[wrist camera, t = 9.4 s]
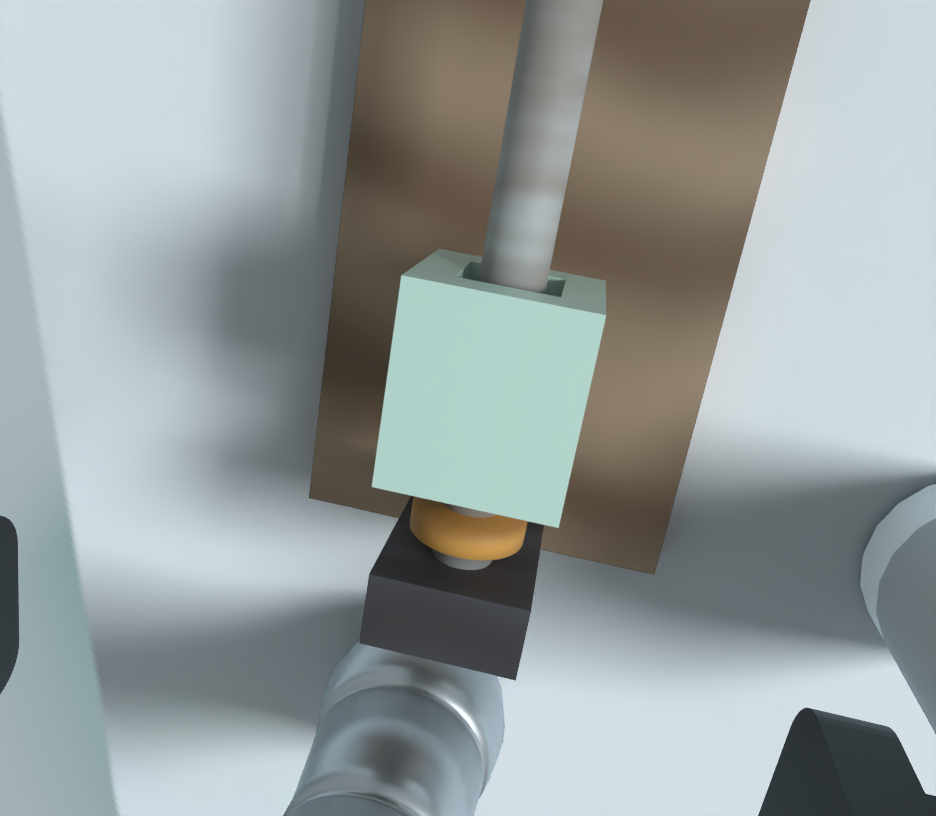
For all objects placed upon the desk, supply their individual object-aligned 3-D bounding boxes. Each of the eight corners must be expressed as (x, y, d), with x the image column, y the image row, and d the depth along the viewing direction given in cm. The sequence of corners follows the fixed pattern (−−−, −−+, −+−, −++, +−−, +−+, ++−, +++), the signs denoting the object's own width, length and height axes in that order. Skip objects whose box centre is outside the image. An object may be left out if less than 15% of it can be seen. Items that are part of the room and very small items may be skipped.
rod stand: (407, -235, 23) (286, -461, 15) (846, -174, 22) (1008, -377, 13) (322, 481, 31) (207, 624, 22) (651, 553, 30) (672, 735, 21)
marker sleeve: (439, 248, 22) (401, 275, 18) (605, 280, 22) (606, 315, 18) (412, 425, 24) (371, 486, 20) (566, 458, 23) (558, 528, 19)
